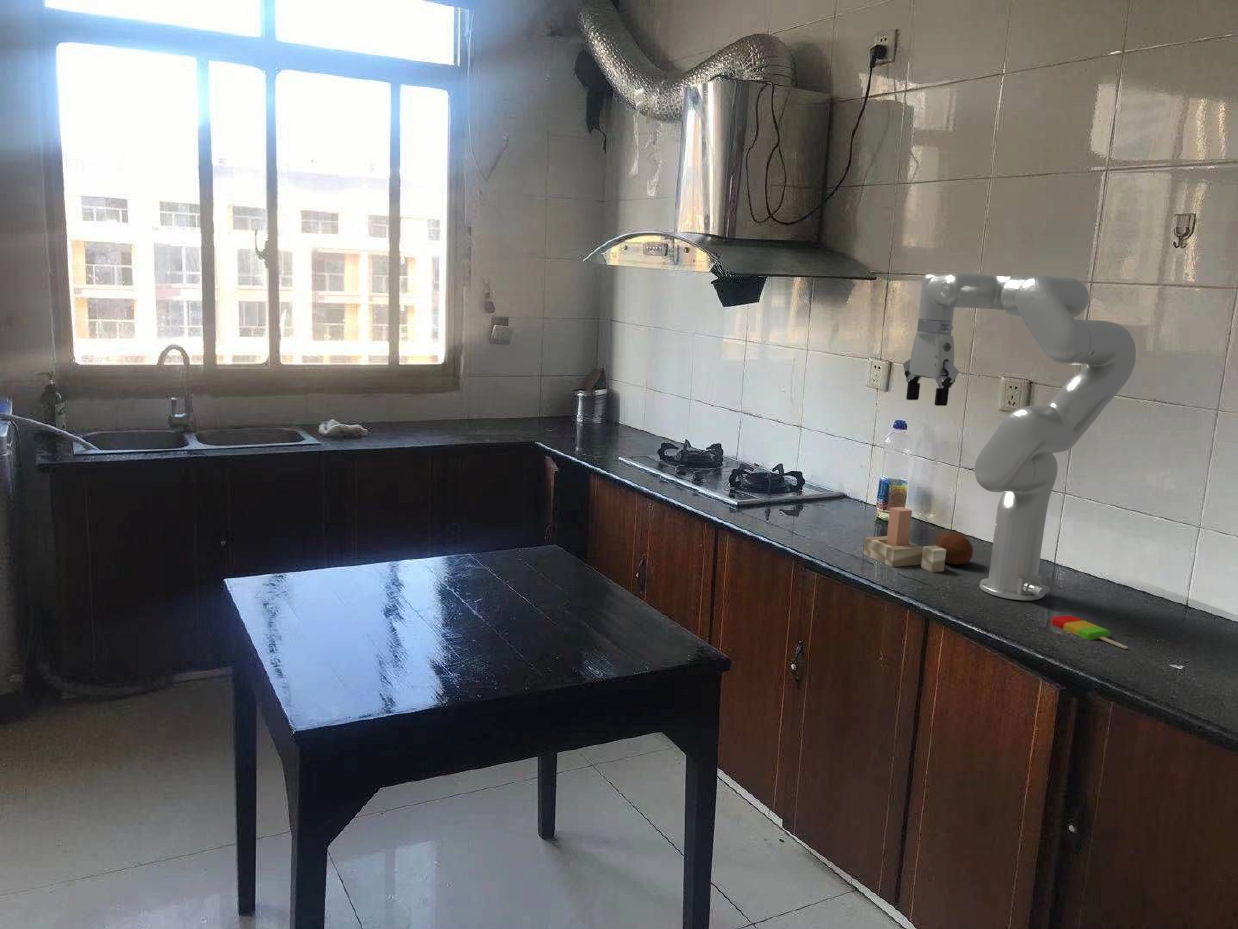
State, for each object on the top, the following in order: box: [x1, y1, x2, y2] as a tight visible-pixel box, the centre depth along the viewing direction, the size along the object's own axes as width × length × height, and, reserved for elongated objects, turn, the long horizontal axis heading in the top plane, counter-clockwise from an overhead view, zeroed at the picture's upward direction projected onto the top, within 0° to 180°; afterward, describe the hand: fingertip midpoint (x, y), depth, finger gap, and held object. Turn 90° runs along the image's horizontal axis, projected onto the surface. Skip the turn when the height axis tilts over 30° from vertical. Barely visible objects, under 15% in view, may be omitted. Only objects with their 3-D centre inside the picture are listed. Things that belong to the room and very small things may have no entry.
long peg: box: [886, 506, 913, 546], centre depth 226 cm, size 4×4×12 cm
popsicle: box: [1050, 614, 1128, 650], centre depth 182 cm, size 6×15×2 cm, turn 25°
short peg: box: [920, 545, 946, 573], centre depth 219 cm, size 4×4×5 cm
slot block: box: [863, 535, 923, 568], centre depth 226 cm, size 10×8×4 cm
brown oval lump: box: [934, 530, 974, 565], centre depth 225 cm, size 8×11×8 cm
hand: (926, 402), depth 225 cm, fingers open, 9 cm apart
